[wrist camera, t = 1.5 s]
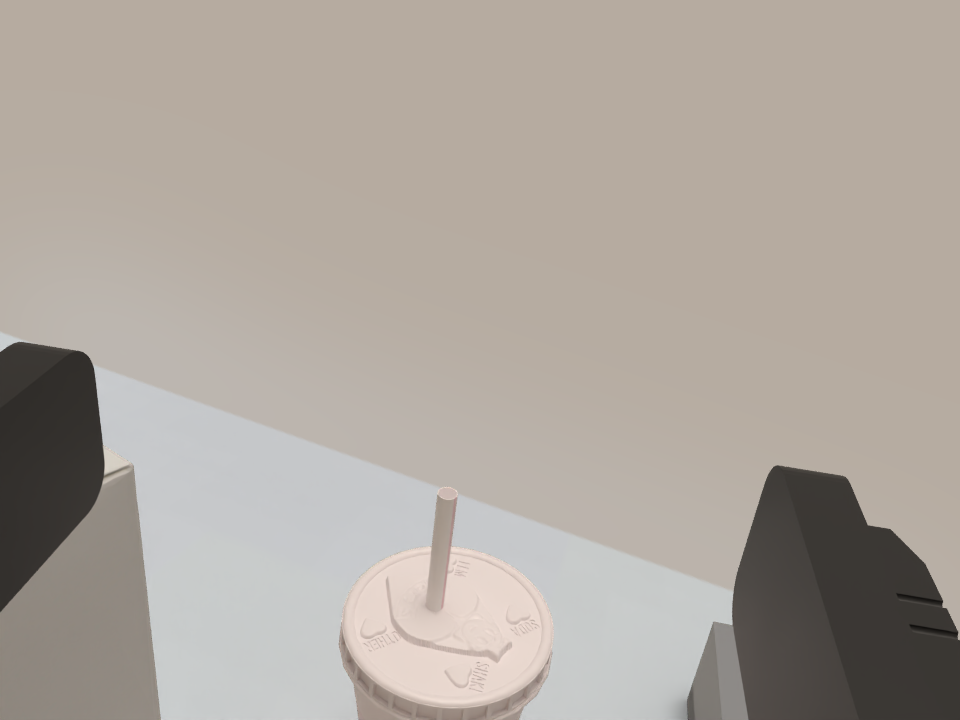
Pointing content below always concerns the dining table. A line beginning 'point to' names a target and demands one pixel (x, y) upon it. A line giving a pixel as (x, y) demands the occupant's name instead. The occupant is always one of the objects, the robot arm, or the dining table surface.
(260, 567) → the dining table surface
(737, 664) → the box
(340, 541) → the dining table surface
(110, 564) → the supplement box
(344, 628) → the smoothie
